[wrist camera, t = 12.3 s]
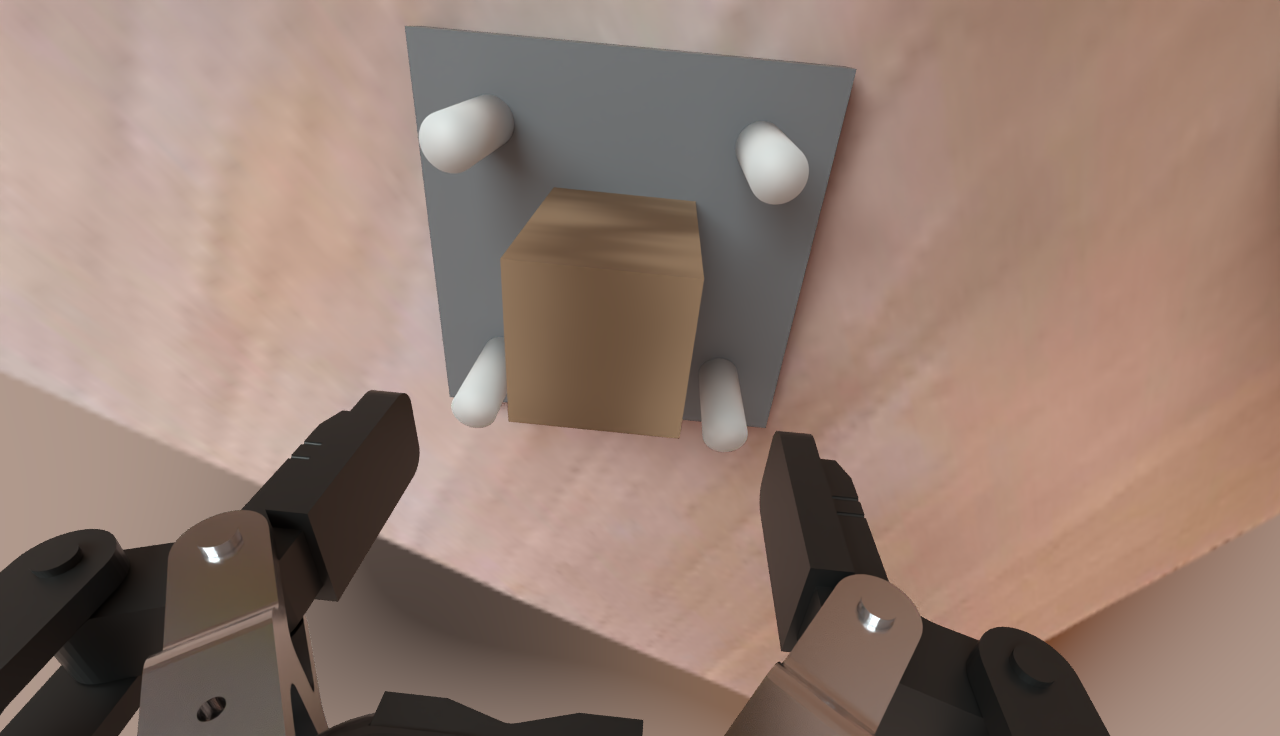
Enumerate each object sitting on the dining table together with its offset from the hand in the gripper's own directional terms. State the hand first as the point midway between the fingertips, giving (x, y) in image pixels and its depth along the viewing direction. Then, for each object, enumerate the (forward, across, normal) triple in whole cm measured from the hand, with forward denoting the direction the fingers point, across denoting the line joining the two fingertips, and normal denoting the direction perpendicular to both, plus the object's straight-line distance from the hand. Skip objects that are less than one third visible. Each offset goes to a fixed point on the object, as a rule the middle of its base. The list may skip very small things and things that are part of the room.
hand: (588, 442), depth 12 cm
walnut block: (+10, 0, 0) cm, 10 cm away
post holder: (+11, 0, 0) cm, 11 cm away
